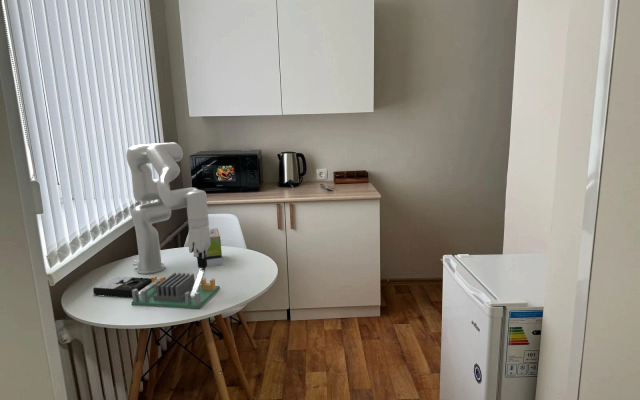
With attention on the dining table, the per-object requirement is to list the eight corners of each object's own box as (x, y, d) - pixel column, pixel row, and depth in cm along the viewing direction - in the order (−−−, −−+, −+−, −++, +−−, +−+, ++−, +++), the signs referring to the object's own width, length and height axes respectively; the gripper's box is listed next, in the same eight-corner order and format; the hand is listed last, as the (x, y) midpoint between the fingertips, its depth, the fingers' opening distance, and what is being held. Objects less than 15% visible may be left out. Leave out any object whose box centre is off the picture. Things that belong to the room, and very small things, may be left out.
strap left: (136, 295, 168) (136, 293, 168) (157, 281, 182) (156, 278, 182) (141, 296, 168) (141, 293, 167) (161, 281, 182) (161, 278, 181)
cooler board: (131, 304, 168) (129, 287, 167) (158, 285, 186) (156, 269, 185) (199, 308, 163) (197, 290, 161) (219, 288, 181) (218, 272, 180)
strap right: (189, 298, 164) (188, 297, 163) (202, 266, 174) (201, 265, 173) (195, 299, 164) (194, 297, 163) (207, 267, 174) (206, 265, 173)
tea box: (200, 258, 220) (197, 229, 217) (220, 255, 223) (218, 227, 220) (201, 267, 206) (198, 237, 203) (223, 265, 209) (220, 235, 206)
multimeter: (134, 299, 174) (133, 287, 173) (93, 296, 178) (91, 284, 177) (153, 286, 187) (152, 275, 186) (114, 283, 191) (113, 273, 190)
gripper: (198, 217, 176) (202, 260, 180) (180, 227, 162) (184, 273, 166) (215, 217, 175) (219, 261, 178) (198, 227, 160) (203, 274, 164)
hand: (202, 267), depth 172 cm, fingers closed
